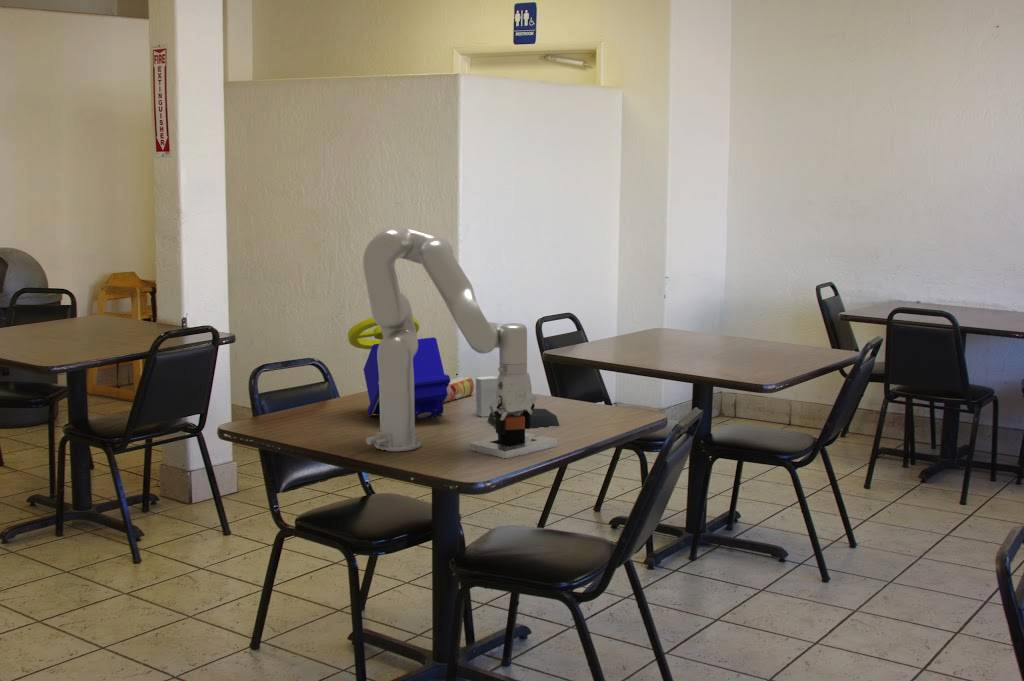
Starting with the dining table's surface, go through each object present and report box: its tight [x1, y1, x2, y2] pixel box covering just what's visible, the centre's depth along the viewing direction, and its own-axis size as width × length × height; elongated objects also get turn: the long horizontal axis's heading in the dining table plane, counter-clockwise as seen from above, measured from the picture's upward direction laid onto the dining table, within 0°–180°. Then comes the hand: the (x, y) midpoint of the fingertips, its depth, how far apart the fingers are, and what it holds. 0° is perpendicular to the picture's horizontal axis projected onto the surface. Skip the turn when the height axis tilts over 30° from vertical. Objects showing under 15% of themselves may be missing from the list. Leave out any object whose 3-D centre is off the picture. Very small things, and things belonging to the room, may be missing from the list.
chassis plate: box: [468, 432, 558, 459], centre depth 304 cm, size 20×14×2 cm
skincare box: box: [475, 375, 498, 418], centre depth 347 cm, size 6×4×12 cm
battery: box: [497, 412, 526, 447], centre depth 304 cm, size 4×7×10 cm, turn 102°
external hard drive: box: [486, 407, 560, 429], centre depth 335 cm, size 13×19×4 cm
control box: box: [347, 316, 451, 421], centre depth 342 cm, size 26×27×30 cm
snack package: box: [443, 375, 475, 404], centre depth 373 cm, size 21×7×7 cm, turn 148°
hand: (513, 431), depth 303 cm, fingers open, 9 cm apart
